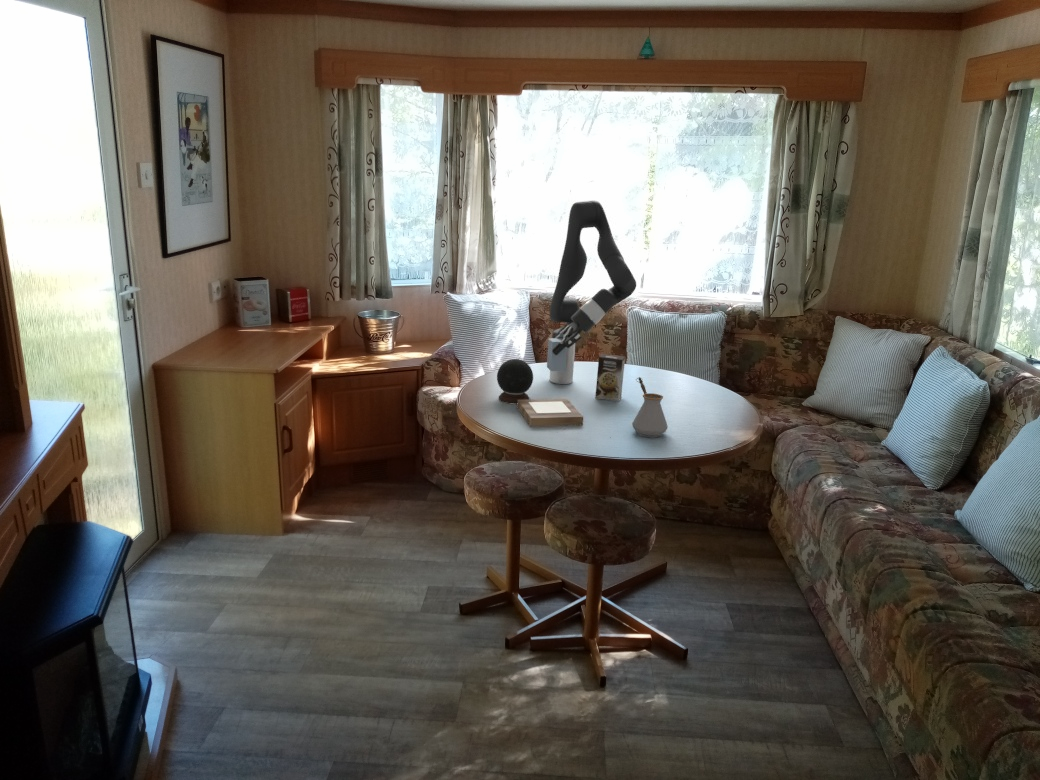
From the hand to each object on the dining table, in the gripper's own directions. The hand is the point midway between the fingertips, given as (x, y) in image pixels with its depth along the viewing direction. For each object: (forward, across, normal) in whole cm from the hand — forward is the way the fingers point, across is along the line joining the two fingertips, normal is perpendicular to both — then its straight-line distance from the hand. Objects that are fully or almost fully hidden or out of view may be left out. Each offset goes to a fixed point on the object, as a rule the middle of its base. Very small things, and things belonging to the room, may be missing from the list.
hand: (551, 351), depth 259 cm
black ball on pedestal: (+22, -20, +11) cm, 32 cm away
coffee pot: (-4, +15, +37) cm, 40 cm away
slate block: (+3, 0, +6) cm, 6 cm away
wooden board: (+16, 0, +17) cm, 23 cm away
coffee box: (-4, -19, +37) cm, 41 cm away
